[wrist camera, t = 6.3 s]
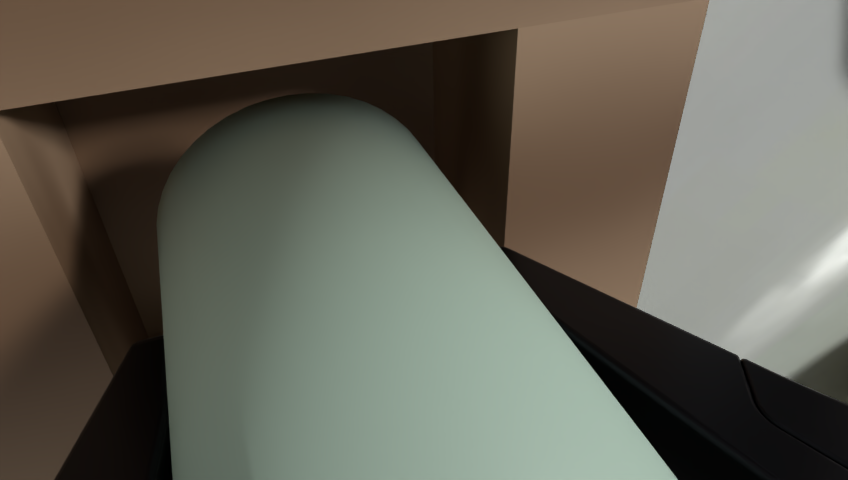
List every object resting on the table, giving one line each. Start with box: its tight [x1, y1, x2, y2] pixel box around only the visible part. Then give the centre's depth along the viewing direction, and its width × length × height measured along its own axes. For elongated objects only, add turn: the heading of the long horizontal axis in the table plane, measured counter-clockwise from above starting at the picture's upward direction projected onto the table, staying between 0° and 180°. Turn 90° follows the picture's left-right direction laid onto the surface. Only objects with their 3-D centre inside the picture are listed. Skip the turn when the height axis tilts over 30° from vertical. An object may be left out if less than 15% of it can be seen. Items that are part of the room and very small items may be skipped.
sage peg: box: [156, 93, 678, 480], centre depth 6 cm, size 4×4×8 cm
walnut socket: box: [0, 0, 709, 480], centre depth 11 cm, size 12×12×4 cm
